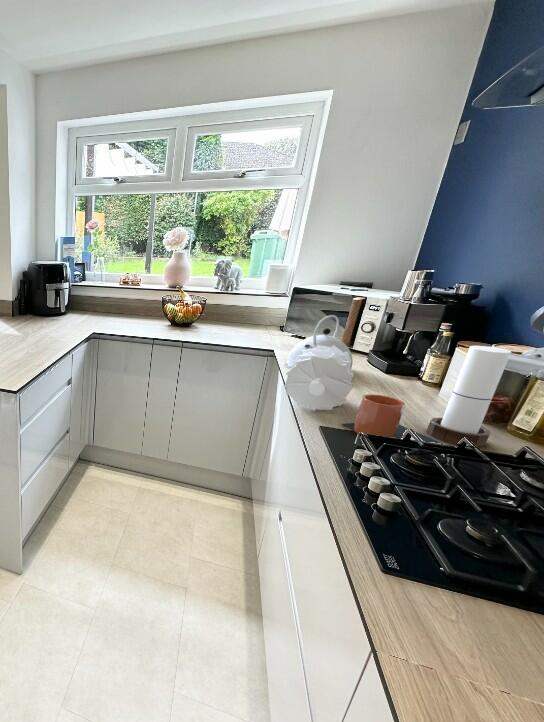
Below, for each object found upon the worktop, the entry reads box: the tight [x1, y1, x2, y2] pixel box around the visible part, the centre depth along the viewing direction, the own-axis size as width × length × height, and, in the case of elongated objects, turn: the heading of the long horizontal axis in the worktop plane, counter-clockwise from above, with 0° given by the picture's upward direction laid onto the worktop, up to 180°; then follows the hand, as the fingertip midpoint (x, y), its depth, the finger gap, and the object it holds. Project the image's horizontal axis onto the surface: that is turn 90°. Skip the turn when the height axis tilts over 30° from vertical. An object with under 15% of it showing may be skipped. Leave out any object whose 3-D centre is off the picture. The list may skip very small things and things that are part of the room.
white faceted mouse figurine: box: [283, 345, 355, 412], centre depth 131 cm, size 18×18×25 cm
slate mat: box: [341, 422, 444, 444], centre depth 109 cm, size 18×16×1 cm
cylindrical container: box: [441, 345, 512, 434], centre depth 105 cm, size 7×7×25 cm
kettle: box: [286, 314, 354, 371], centre depth 166 cm, size 25×23×22 cm
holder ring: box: [426, 416, 492, 448], centre depth 108 cm, size 11×11×4 cm
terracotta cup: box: [354, 393, 406, 437], centre depth 110 cm, size 9×9×10 cm
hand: (510, 368), depth 106 cm, fingers open, 8 cm apart
